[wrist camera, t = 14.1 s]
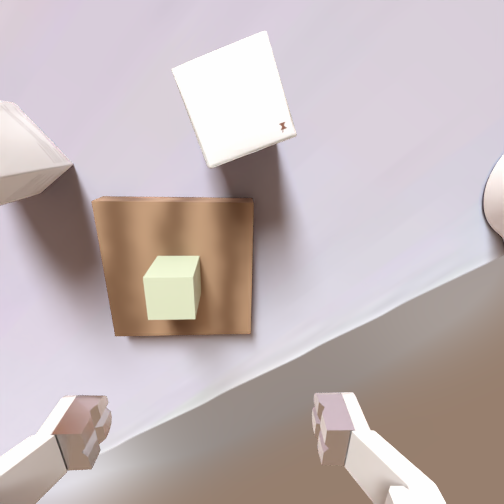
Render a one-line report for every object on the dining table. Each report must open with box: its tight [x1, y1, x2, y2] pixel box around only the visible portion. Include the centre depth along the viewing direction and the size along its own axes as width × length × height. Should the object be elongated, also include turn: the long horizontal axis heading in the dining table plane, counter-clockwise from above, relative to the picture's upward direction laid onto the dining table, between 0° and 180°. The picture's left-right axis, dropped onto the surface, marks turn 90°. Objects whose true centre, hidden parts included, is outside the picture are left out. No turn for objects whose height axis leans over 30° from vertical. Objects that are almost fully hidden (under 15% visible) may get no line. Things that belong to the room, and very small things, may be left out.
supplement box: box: [172, 31, 297, 168], centre depth 27 cm, size 7×7×13 cm
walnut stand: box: [92, 196, 254, 336], centre depth 37 cm, size 18×18×3 cm
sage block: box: [143, 256, 201, 320], centre depth 33 cm, size 5×5×6 cm
